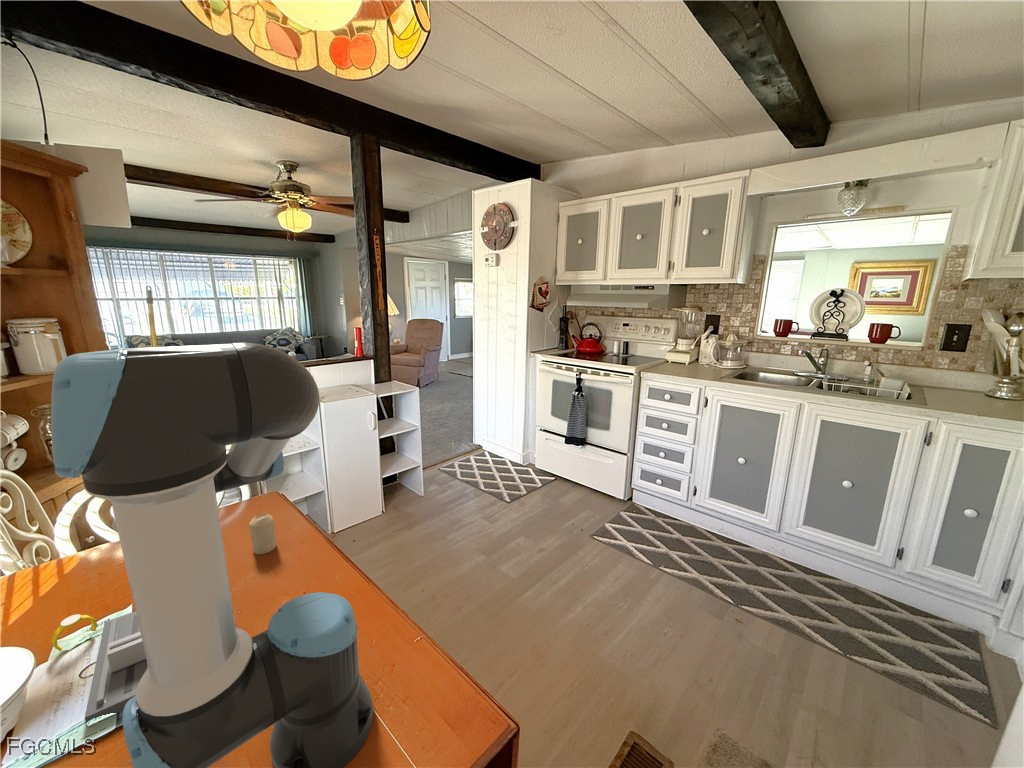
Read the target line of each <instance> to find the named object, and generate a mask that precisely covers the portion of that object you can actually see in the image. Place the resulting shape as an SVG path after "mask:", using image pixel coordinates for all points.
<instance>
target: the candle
mask: <svg viewBox="0 0 1024 768" xmlns="http://www.w3.org/2000/svg"><path fill="white" fill-rule="evenodd" d="M248 524H249V531H250V537H251V538H250V540H251V546H252V552H253V554H256V555H264V554H267V553H270V552H272V551H274V549H276V547H277V538H276V530H275V522H274V517H273V516H272V515H270V514H268V513H266V512H265V513H262V514H255V515H254V517H253V518H252V519H251V521H250V522H249V523H248Z"/></svg>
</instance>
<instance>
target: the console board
mask: <svg viewBox="0 0 1024 768" xmlns="http://www.w3.org/2000/svg"><path fill="white" fill-rule="evenodd" d="M138 632H140V628H139V624H138V619H137V615H136V610H135V611H132V612H129V613H126V614H124V615H123V614H122V615H120V616H118V617H116V618H115V617H114V618H112V619H109V620H107V621H104V624H103V629H102V633H101V637H100V644H99V647H98V653H97V657H96V662H95V667H94V671H93V676H92V681H91V685H90V691H89V695H88V699H87V700H88V701H87V704H86V709H85V714H84V721H85V724H86V723H87V722H88V721H89V720H91V719H93V718H96V717H99V716H102V715H106V714H110V713H117V714H119V713H123V710H124V707H125V705H126V703H127V702H128V701H129V700H130V699H131V698H133V697H134V696H135V695H136V690H137V687H138V684H139V682H140V680H141V678H142V676H143V675H144V673H145V672H146V670H147V669H148V664H147V660H146V659H144V660H142V661H139V662H137V663H135V664H132V665H130V666H127V667H125V668H122V669H120V670H118V671H115V672H113V673H111V669H110V665H109V661H108V657H107V653H108V647H109V643H111V642H114V641H117V640H119V639H122V638H125V637H127V636H130V635H132V634H135V633H138ZM118 712H119V713H118Z"/></svg>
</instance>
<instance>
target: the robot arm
mask: <svg viewBox="0 0 1024 768" xmlns="http://www.w3.org/2000/svg"><path fill="white" fill-rule="evenodd" d="M51 383H52V384H51V385H52V386H51V401H50V402H51V403H50V404H51V405H50V406H51V407H50V408H51V409H50V413H51V414H50V422H51V423H50V426H51V427H50V431H51V435H50V436H51V452H52V453H51V454H52V461H53V465H54V470H55V471H54V473H55V474H56V476H57V477H58V478H63V479H64V478H70V479H76V478H80V476H81V478H82V482H83V485H84V489H85V491H86V492H87V494H89V495H90V496H92V497H94V498H98V499H102V500H106V501H109V502H111V507H112V511H113V512H112V513H113V516H114V520H115V525H116V529H117V533H118V539H119V543H120V547H121V551H122V555H123V561H124V565H125V570H126V575H127V579H128V582H129V587H130V592H131V596H132V601H133V606H134V609H135V611H136V615H137V619H138V624H139V628H140V633H141V637H142V642H143V646H144V651H145V655H146V660H147V664H148V669H147V670H146V672H145V673H144V675H143V676H142V678H141V680H140V682H139V684H138V687H137V690H136V695H135V696H134V697H133V698H131V699H130V700H129V701H128V702H127V703H126V705H125V707H124V710H123V711H122V728H123V729H122V730H123V736H124V740H125V745H126V749H127V750H128V754H129V755H130V759H131V761H130V762H131V766H132V768H209V767H211V766H212V765H214V764H215V763H217V762H219V761H220V760H221V759H223V758H224V757H226V756H227V755H229V754H231V753H232V752H234V751H235V750H236V749H238V748H239V747H241V746H242V745H244V744H245V743H248V741H250V740H251V739H253V738H255V737H256V736H258V735H259V734H261V733H262V732H263V731H265V730H266V729H268V728H270V727H271V726H272V725H273V727H272V730H271V734H270V739H269V740H270V741H269V747H270V749H269V750H270V756H271V761H272V765H273V768H345V766H346V765H348V764H349V763H350V762H351V760H353V758H354V757H355V756H356V755H357V754H358V753H359V751H360V750H361V749H362V747H363V745H364V744H365V742H366V740H367V738H368V736H369V734H370V732H371V731H370V730H371V728H372V725H373V721H374V720H373V718H374V707H373V705H374V704H373V699H372V694H371V691H370V689H369V687H368V686H367V684H366V683H365V681H364V679H363V677H362V676H361V674H360V667H359V652H358V649H359V648H358V625H357V622H356V618H355V613H354V609H353V606H352V605H351V603H350V602H349V600H348V599H346V598H345V597H343V596H341V595H339V594H336V593H333V592H332V593H331V592H329V593H328V592H325V591H322V592H320V591H317V592H310V593H305V594H302V595H299V596H296V597H295V598H292V599H291V600H288V601H287V602H284V604H283V605H281V606H280V607H279V608H278V609H277V611H275V613H273V615H272V616H271V618H270V620H269V623H268V626H267V629H266V630H263V631H262V632H260V633H258V634H256V635H254V636H250V634H249V633H248V632H247V631H245V630H244V629H242V628H238V627H237V625H236V621H235V613H234V608H233V606H234V605H233V601H232V593H231V586H230V581H229V574H228V567H227V560H226V553H225V547H224V541H223V540H224V539H223V534H222V533H223V532H222V527H221V520H220V513H219V506H218V501H217V500H218V499H217V493H220V492H224V491H227V490H231V489H235V488H239V487H242V486H243V487H244V486H246V485H250V484H254V483H259V482H265V481H267V480H270V479H273V478H275V477H278V476H281V475H282V474H283V472H284V470H285V468H284V466H285V459H284V453H283V450H284V448H285V447H286V445H287V444H288V443H289V441H290V440H291V439H292V438H294V437H296V436H298V435H300V434H301V433H303V432H304V431H305V430H306V429H307V428H309V426H310V424H311V423H312V422H313V420H314V419H315V417H316V415H317V413H318V410H319V405H320V391H319V388H318V385H317V381H315V378H314V377H313V374H312V373H310V371H309V370H308V368H306V366H305V365H303V364H302V363H301V362H300V361H299V360H297V359H296V358H295V357H294V356H291V355H289V354H288V353H286V352H284V351H283V350H280V349H277V348H276V347H275V348H274V347H271V346H267V345H265V344H260V343H252V342H230V343H218V344H215V343H214V344H197V345H193V344H192V345H174V346H172V345H171V346H170V345H169V346H152V347H151V346H149V347H148V346H147V347H146V346H145V347H128V348H127V347H118V348H116V349H115V348H114V349H109V350H108V349H107V350H106V349H105V350H99V351H96V350H95V351H89V352H87V351H86V352H80V353H75V354H71V355H68V356H66V357H64V358H63V359H61V360H60V361H58V363H57V365H56V367H55V369H54V371H53V375H52V382H51ZM229 445H230V448H229V449H228V448H226V446H229Z"/></svg>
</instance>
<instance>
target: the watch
mask: <svg viewBox="0 0 1024 768" xmlns="http://www.w3.org/2000/svg"><path fill="white" fill-rule="evenodd" d="M82 620H83V621H84V620H89V621H90V622H91V625H90V628H89V631H90V630H91V631H95V632H96V631H97V627H98V623H97V620H96V618H94V617H92V616H90V615H88V614H79V613H77V614H72V615H70V616H68V617H66V618H64V619H63V620H62V621H61V622H60V626H58V628H57V629H56V630H55V631H54V633H53V635H52V637H51V640H50V641H51V646H52V647H53V648H55V649H56V650H58V651H59V652H62V651H61V650H62V647H63V646H59V645H58V644H59V643H58V640H59V637H60V635H61V633H62V632H64V631H65V630H66V629H69V628H72V627H75V626H77V624H79V623H80V622H82ZM62 634H63V633H62Z"/></svg>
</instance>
